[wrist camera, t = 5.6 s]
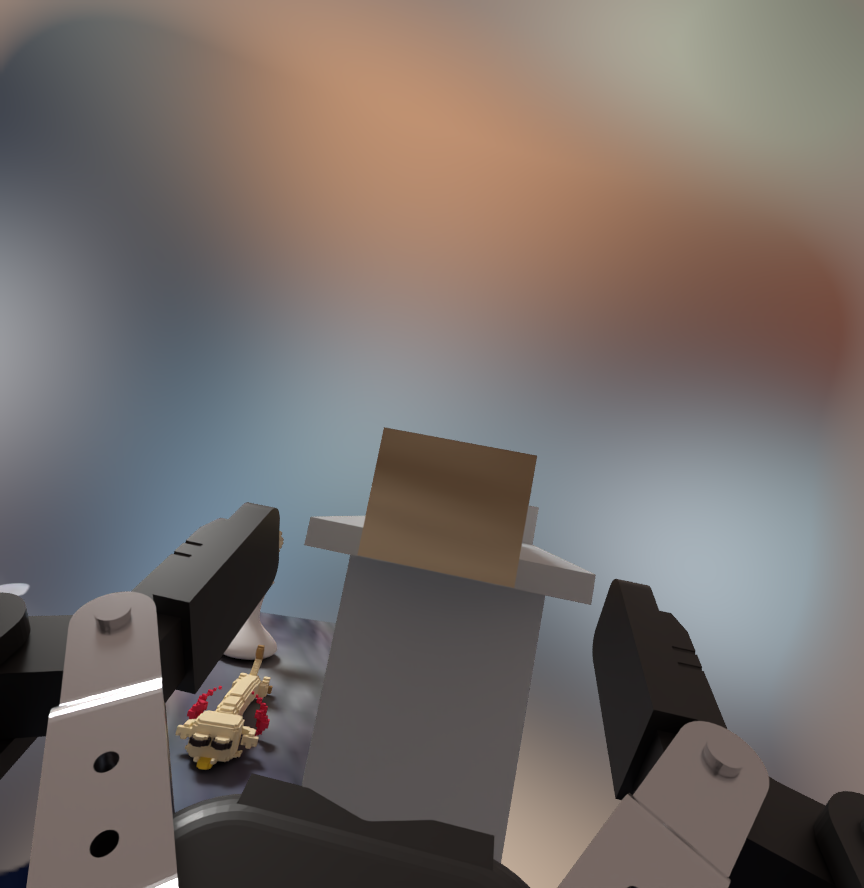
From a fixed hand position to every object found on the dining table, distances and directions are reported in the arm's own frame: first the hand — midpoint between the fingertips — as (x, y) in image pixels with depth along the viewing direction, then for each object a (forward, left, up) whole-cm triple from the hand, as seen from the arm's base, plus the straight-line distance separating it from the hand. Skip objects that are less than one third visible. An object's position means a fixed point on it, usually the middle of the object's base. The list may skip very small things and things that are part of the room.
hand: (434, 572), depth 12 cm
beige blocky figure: (+54, +35, -32) cm, 72 cm away
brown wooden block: (+12, +2, 0) cm, 12 cm away
